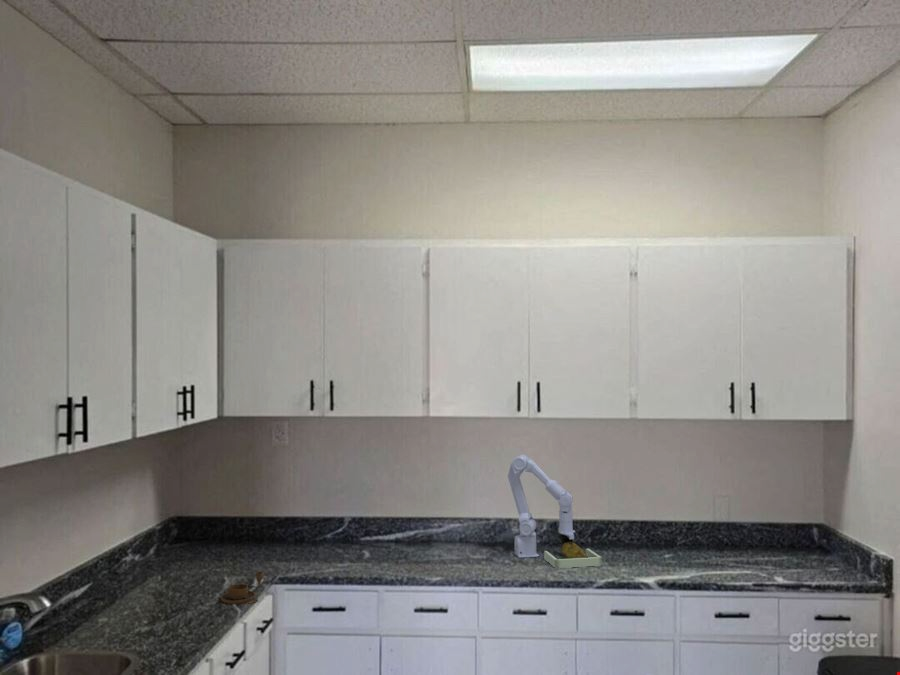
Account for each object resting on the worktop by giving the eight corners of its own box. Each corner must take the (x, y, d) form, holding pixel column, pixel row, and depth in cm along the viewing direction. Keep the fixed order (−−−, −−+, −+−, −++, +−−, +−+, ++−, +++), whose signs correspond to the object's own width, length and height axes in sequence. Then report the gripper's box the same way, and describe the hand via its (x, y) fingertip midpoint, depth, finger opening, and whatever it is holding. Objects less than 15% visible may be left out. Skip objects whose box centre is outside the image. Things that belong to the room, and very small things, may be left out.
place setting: (211, 598, 254) (211, 582, 254) (260, 586, 268) (260, 570, 268) (234, 609, 242) (234, 592, 242) (284, 596, 256) (284, 580, 256)
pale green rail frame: (555, 568, 287) (555, 560, 287) (544, 559, 302) (544, 551, 302) (602, 566, 291) (602, 557, 291) (588, 556, 306) (588, 548, 306)
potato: (571, 567, 289) (570, 547, 290) (558, 559, 302) (558, 540, 302) (589, 565, 291) (589, 546, 292) (576, 558, 304) (576, 539, 304)
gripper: (580, 524, 298) (581, 556, 298) (568, 517, 313) (569, 547, 312) (565, 524, 297) (565, 556, 297) (553, 517, 311) (554, 548, 311)
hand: (566, 552), depth 304 cm, fingers closed
